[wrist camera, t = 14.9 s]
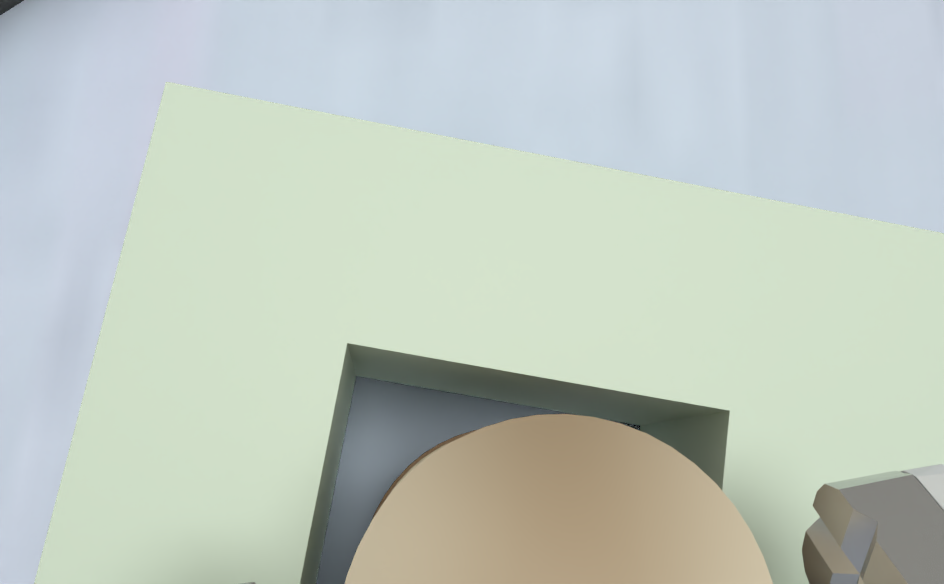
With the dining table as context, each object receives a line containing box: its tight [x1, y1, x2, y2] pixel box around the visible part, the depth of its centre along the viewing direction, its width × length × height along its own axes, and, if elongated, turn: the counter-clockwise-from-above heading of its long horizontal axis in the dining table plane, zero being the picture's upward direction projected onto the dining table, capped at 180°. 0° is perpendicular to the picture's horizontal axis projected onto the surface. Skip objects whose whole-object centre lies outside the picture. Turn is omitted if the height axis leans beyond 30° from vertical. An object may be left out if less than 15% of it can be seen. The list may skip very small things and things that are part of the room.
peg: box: [345, 414, 773, 584], centre depth 13 cm, size 4×4×10 cm
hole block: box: [34, 82, 944, 584], centre depth 16 cm, size 14×14×5 cm
